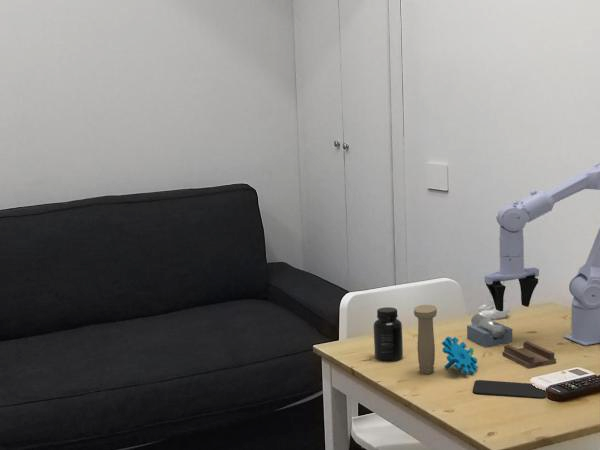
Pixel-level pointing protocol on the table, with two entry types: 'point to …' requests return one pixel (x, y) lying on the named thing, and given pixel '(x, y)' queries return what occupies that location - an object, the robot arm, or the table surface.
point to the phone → (507, 389)
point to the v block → (487, 336)
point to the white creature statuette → (493, 309)
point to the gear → (459, 356)
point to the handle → (426, 337)
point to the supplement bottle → (388, 335)
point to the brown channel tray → (529, 355)
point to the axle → (488, 326)
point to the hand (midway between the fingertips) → (512, 308)
